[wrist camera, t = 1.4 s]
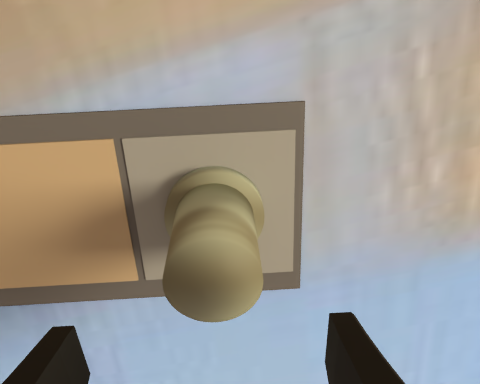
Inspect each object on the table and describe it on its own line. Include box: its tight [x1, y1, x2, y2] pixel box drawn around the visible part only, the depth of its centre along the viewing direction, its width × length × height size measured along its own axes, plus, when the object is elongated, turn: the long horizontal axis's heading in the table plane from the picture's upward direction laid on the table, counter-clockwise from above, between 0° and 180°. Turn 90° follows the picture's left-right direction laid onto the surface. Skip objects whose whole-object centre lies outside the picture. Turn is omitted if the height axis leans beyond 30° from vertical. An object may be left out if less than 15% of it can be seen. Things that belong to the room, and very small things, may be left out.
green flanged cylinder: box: [162, 166, 265, 322], centre depth 17 cm, size 5×5×6 cm
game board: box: [0, 101, 305, 306], centre depth 20 cm, size 10×24×1 cm, turn 92°
